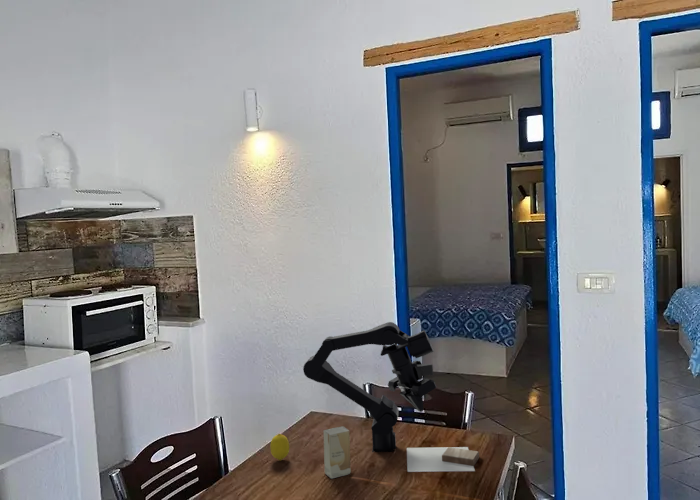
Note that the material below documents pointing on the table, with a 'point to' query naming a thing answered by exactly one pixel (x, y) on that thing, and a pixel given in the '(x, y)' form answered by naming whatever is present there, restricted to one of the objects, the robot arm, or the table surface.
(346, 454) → the skincare box
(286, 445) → the lemon
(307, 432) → the table surface
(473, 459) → the tile
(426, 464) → the mat
